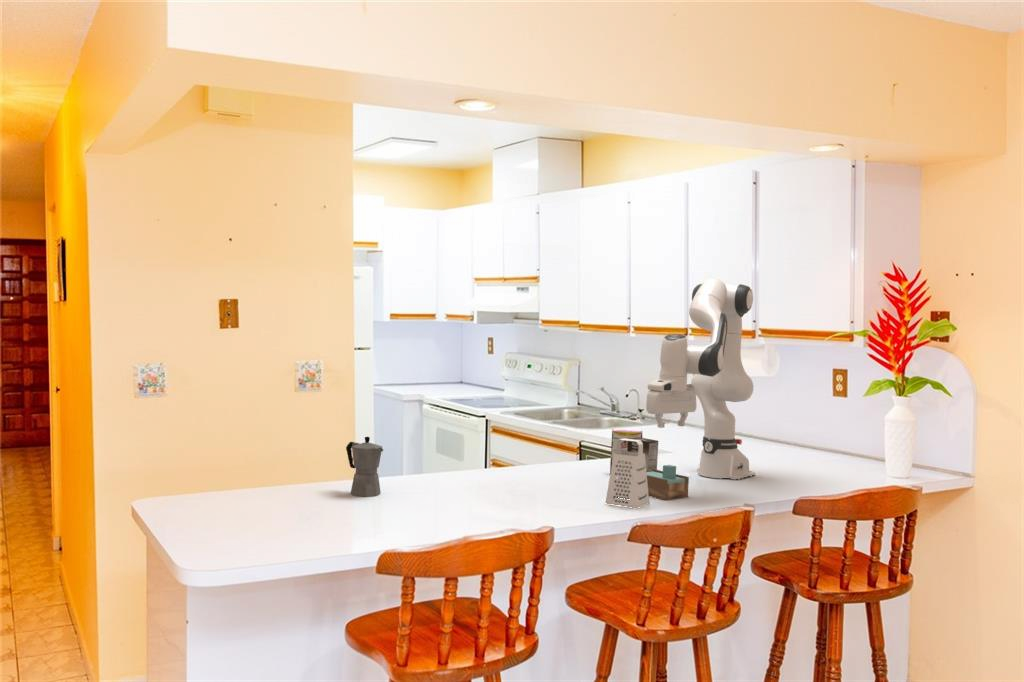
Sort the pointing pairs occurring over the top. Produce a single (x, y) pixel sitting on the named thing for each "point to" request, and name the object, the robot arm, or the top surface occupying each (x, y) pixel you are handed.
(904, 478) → the top surface
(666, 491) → the walnut box
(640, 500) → the grater
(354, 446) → the coffeepot
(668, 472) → the cover plate
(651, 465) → the coffee box
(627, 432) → the candy bar box
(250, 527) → the top surface
